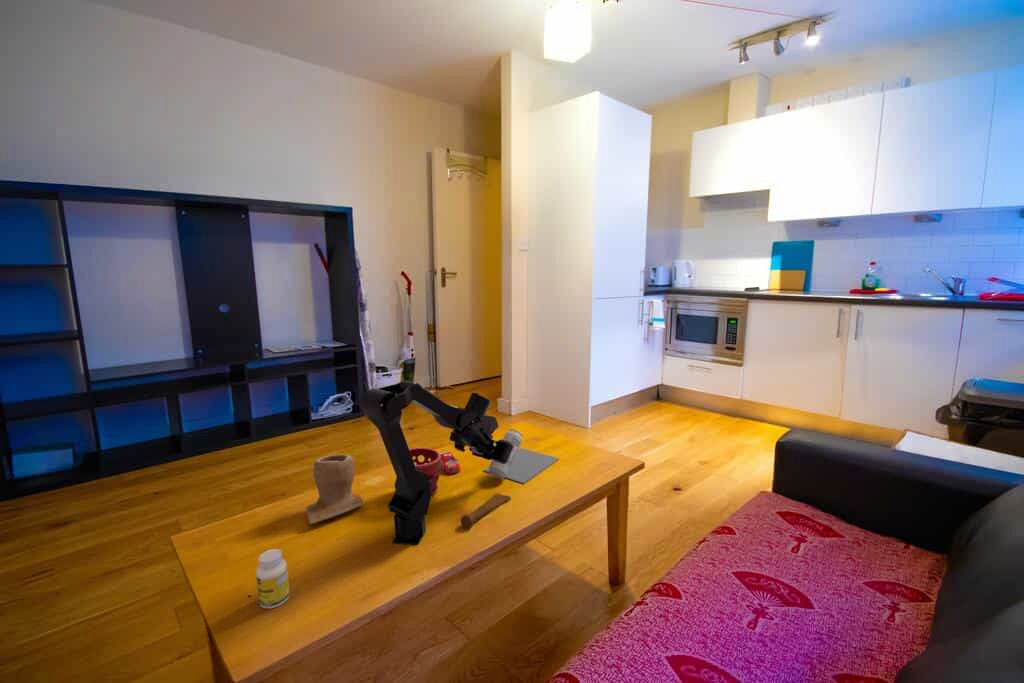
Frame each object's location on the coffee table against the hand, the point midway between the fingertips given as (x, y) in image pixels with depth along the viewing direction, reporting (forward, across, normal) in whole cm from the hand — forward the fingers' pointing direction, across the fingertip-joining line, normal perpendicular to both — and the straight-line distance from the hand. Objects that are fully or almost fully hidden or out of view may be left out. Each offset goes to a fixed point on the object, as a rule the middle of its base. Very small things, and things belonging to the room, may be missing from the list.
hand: (495, 457), depth 136 cm
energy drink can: (+4, 0, +4) cm, 6 cm away
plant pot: (-8, +14, +19) cm, 25 cm away
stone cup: (-22, +27, +33) cm, 48 cm away
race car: (+6, +20, +6) cm, 22 cm away
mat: (+16, 0, -5) cm, 17 cm away
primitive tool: (-4, -8, +16) cm, 19 cm away
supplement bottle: (-40, +6, +51) cm, 65 cm away
